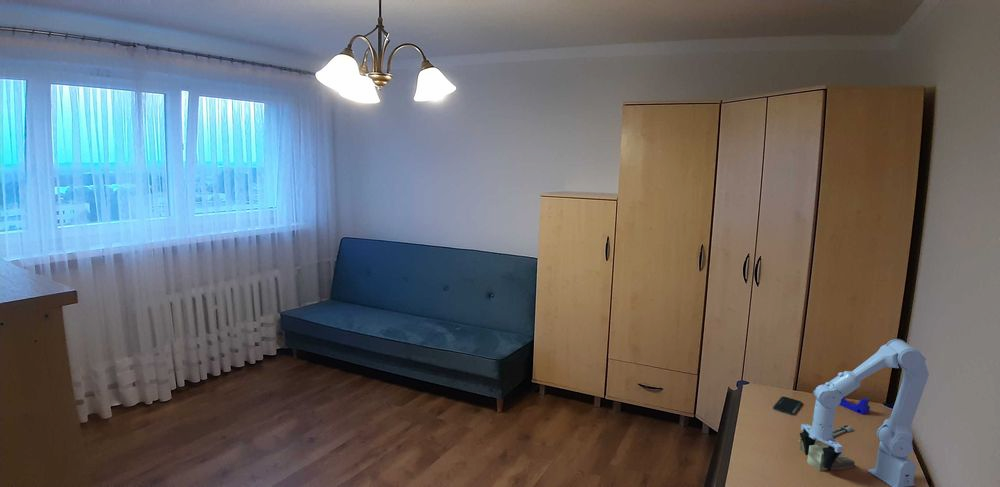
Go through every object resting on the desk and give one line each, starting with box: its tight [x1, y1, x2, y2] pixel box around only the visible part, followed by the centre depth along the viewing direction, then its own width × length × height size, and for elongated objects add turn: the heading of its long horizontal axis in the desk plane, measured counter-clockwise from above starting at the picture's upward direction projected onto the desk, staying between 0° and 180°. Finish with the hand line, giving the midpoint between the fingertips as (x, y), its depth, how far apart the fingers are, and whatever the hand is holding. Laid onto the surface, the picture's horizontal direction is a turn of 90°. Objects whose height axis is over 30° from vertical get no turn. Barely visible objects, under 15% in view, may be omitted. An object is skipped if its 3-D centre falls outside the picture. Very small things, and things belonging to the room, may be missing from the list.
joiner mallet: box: [806, 445, 828, 472], centre depth 172 cm, size 5×8×6 cm, turn 103°
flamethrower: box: [797, 423, 853, 443], centre depth 192 cm, size 29×3×10 cm
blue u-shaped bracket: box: [839, 397, 871, 416], centre depth 215 cm, size 12×4×6 cm, turn 26°
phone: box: [772, 396, 803, 416], centre depth 214 cm, size 8×1×15 cm
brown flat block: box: [799, 441, 856, 471], centre depth 176 cm, size 13×9×2 cm
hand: (817, 461), depth 171 cm, fingers open, 7 cm apart
